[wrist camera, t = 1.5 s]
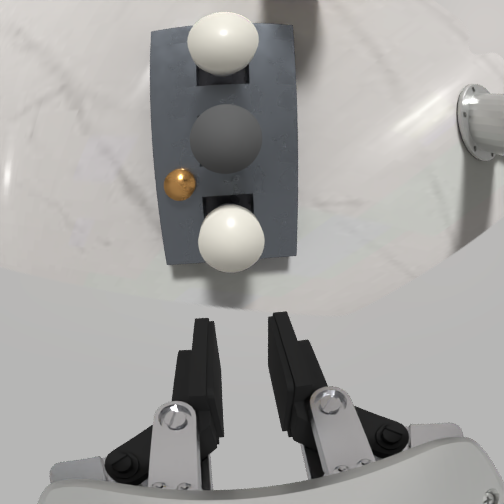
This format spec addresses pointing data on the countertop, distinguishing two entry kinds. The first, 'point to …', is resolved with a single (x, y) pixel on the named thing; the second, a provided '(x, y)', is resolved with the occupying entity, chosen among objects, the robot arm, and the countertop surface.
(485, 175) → the countertop surface
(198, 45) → the knob
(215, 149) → the knob middle
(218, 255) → the knob
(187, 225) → the panel
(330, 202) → the countertop surface
